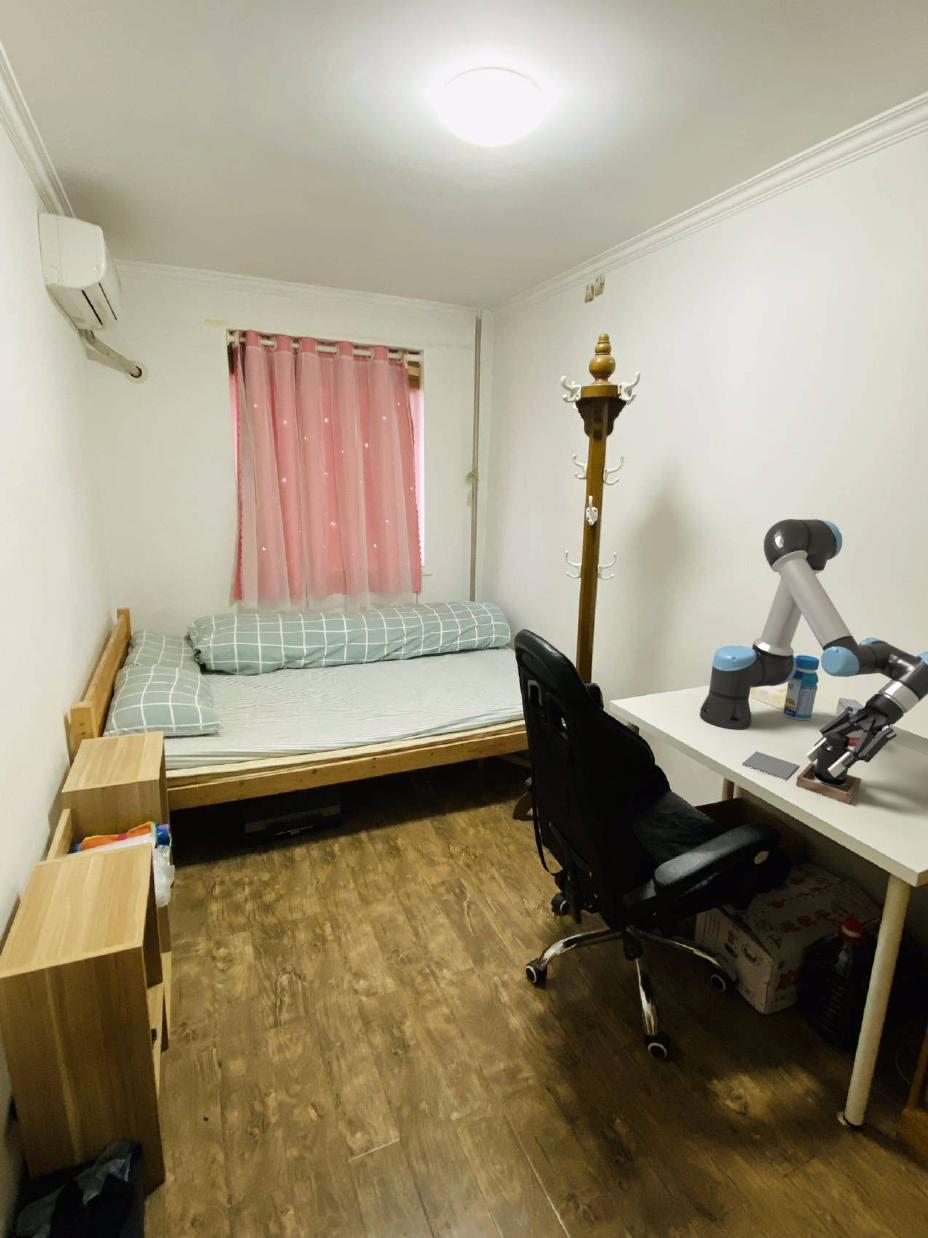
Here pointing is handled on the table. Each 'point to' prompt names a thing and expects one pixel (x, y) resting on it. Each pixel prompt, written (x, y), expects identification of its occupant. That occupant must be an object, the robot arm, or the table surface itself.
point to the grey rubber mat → (771, 765)
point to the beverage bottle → (802, 688)
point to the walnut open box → (828, 790)
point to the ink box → (856, 706)
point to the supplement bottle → (832, 758)
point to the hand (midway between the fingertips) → (820, 765)
